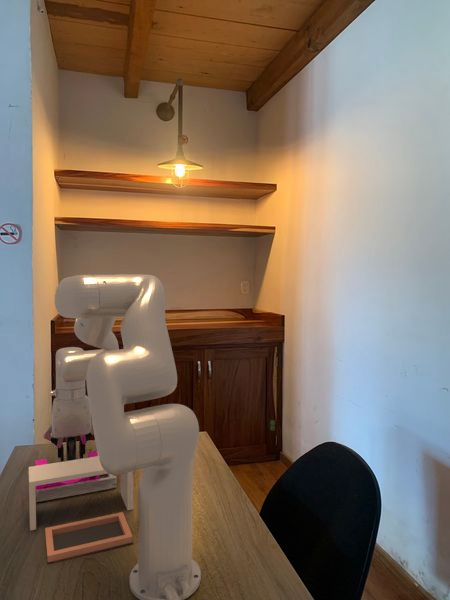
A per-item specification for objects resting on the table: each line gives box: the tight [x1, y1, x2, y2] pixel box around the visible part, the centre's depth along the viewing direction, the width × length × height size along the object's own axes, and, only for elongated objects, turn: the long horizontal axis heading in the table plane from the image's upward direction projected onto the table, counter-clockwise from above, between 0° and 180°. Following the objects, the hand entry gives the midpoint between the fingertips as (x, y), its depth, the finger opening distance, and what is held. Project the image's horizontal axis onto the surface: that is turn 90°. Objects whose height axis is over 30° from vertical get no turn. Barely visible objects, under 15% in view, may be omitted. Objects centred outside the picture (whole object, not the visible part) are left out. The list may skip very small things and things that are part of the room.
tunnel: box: [28, 456, 134, 531], centre depth 103 cm, size 8×22×10 cm, turn 114°
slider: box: [35, 436, 118, 503], centre depth 118 cm, size 18×19×8 cm
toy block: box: [34, 450, 100, 492], centre depth 113 cm, size 15×6×8 cm, turn 115°
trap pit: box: [44, 511, 134, 565], centre depth 92 cm, size 10×16×2 cm, turn 114°
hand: (71, 457), depth 124 cm, fingers open, 4 cm apart
